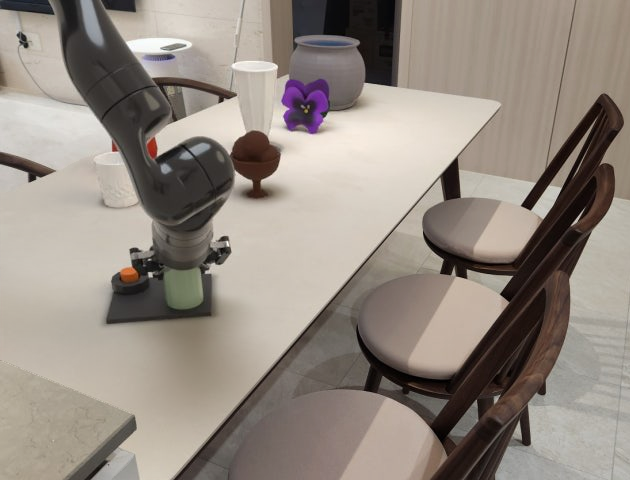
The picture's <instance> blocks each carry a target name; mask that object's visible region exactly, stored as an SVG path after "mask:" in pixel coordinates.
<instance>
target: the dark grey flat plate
mask: <svg viewBox="0 0 630 480" xmlns="http://www.w3.org/2000/svg"><path fill="white" fill-rule="evenodd" d="M138 276H139V279H138V280H137V281H133V282H127V283H126V282H122V280H121V275H120V271H118V272H116V273H115V274H113V275H112V276H111V280H110V283H111V288H112V290H113V292H112V297H111V300H110V304H109V307H108V312H107V314H106V315H107V316H106V319H105V321H106V324H107V325H110V324H123V323H134V322H135V323H137V322H149V321H162V320H174V319H176V320H177V319H189V318H199V317H200V318H203V317H212V309H213V307H212V304H213V303H212V302H213V301H212V299H213V296H212V295H213V287H212V286H213V275H212V273H205V274H201V276H202V285H203V297H204V300H203V302H202V303H201V304H200V305H198V306H196V307H194V308H190V309H183V310H180V309H174V308H171V307H169V306H168V305H167V303H166V298H165V291H164V284H163V280H159V281H158V278H153V276H151V277H150V276H149V274H148V275H146V276H140V275H139V274H138Z"/></svg>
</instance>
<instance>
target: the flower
mask: <svg viewBox="0 0 630 480" xmlns="http://www.w3.org/2000/svg"><path fill="white" fill-rule="evenodd" d="M280 102H281V104H282V105H283V106H284V107H286V108H287V109H286V110H285V111H284V113H283V115H282V118H283V121H284V124H285V125H286V128H287V130H288V131H290V132H291V131H293V130H294V129H296V128H297V127H298V126H301V125H302V126H303V127H305V129H306V130H307V131H308V133H309V134H310V135H311V134H312V135H314V134H317V132H318V130H319V127H320V126H321V125H322V124H323V123H324V119H325V118H326V117H327V116H328V113H329V112H330V110H329V108H330V101H329V86H328V83H327V82H326V81H325V80H324V79H318V80H316V81H314V82H311V83H308V84H307V85H306V86H305V85H304V84H303V83H302V82H300V81H298V80H294V79H290V80H289V79H288V80H287V81H286V82H285V85H284V93H283V94H282V96H281V101H280Z"/></svg>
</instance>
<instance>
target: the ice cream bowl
mask: <svg viewBox="0 0 630 480" xmlns="http://www.w3.org/2000/svg"><path fill="white" fill-rule="evenodd" d="M270 144H271V143H270V138H269V137H267V135H265V134H264V133H262V132H260V131H255V130H252V131H250V132H248V133H246V132H245V134H244V135H242V136H239V137H238V138H237V139H236V140H235V141H234V144H233V146H232V149H231V151H230V154H229V155H230V157H231V159H232V162H233V165H234V170H235V173H237V174H239V175H240V176H242V177H243V178H245V179H247V180H250V181H251V182H252V189H250V190H248V191H246V193H245V196H247V197H248V198H250V199H262V198H263V199H264V198H265V197H268V196H269V192H268V191H266V190H265V189H263V188H262V184H261V183H262V181H263V180H265V179H267V178H269V177H271V176H272V175H274V174H275V173H276V172H277V170H278V168H279V166H280V162H281V158H282V157H281V156H282V153H281V151H280V152H278V151H277V149H276V148H275V147H274V146H273V145H274V144H271V145H270Z"/></svg>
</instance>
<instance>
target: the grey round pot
mask: <svg viewBox="0 0 630 480" xmlns="http://www.w3.org/2000/svg"><path fill="white" fill-rule="evenodd" d="M294 43H296V44H297V46H296V48H295V49H294V50H293V53H292V54H291V56H290V60H289V65H288V80H290V79H294V80H298V81H300V82H302V83H303V84H304V85H305V86H306V85H307V84H308V83H311V82H314V81H316V80H318V79H324V80H325V81H326V82H327V83H328V86H329V101H330V108H329V111H341V110H346V109H349V108H351V107H353V106H354V105H355V104H356V102H355V101H356V100H357V99H359V97H360V96H361V94H362V92H363V89H364V86H365V82H366V66H365V62H364V59H363V58H364V57H362V54H361V53H360V51H359V50H358V48H357V47H358V46H359V45H360V44H361V42H360V40H358V39H355V38H354V37H353V38H352V37H348V36H342V35H330V34H329V35H327V34H313V35H302V36H297V37H295V38H294Z"/></svg>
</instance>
